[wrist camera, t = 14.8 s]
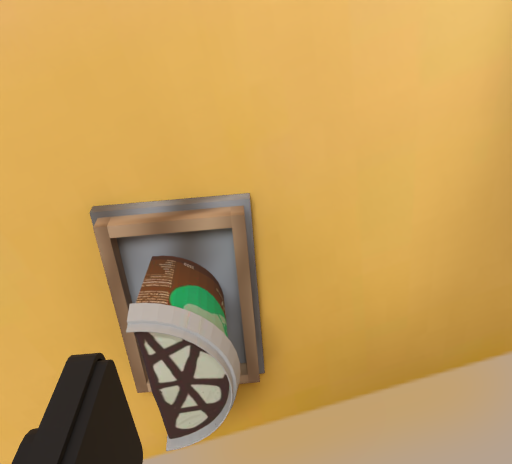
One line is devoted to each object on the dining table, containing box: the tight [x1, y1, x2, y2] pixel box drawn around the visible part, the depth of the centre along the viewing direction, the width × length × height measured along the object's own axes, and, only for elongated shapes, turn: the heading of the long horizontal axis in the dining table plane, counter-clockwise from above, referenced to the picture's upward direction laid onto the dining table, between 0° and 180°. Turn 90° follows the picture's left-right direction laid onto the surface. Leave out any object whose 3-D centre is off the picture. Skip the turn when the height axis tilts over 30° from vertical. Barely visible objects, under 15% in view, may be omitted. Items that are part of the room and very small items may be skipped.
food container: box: [126, 256, 241, 451], centre depth 36 cm, size 12×6×10 cm, turn 7°
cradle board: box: [90, 193, 265, 393], centre depth 41 cm, size 12×18×2 cm, turn 4°
